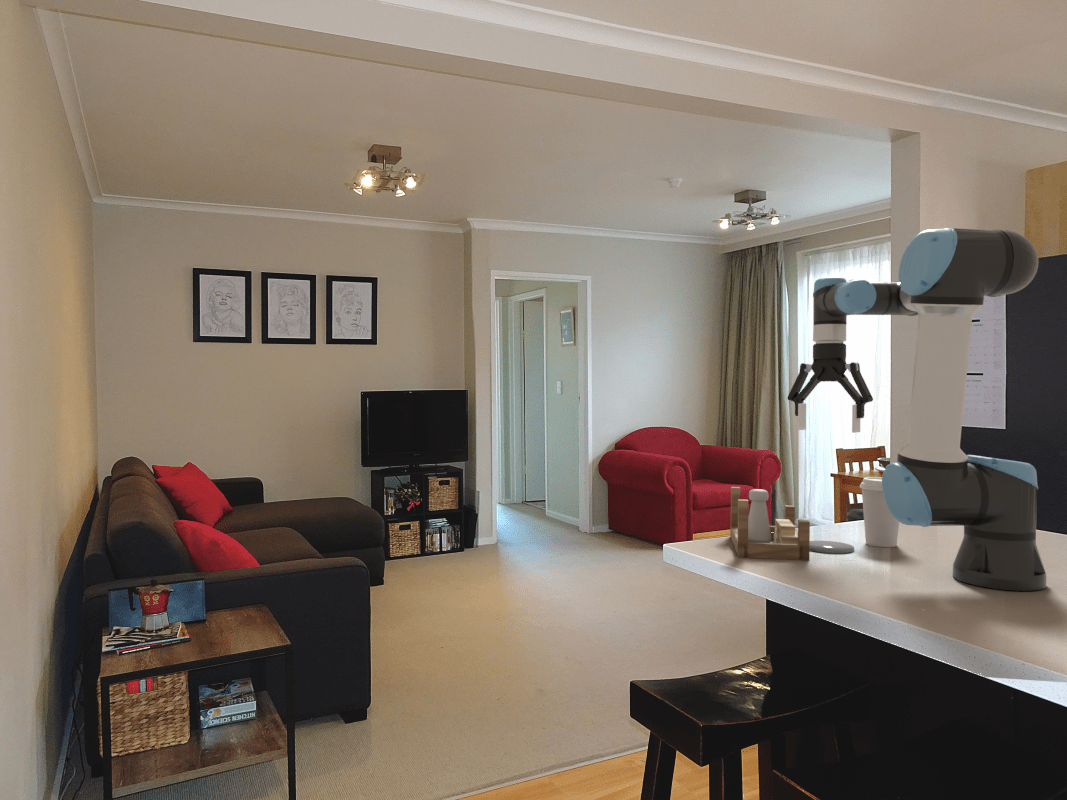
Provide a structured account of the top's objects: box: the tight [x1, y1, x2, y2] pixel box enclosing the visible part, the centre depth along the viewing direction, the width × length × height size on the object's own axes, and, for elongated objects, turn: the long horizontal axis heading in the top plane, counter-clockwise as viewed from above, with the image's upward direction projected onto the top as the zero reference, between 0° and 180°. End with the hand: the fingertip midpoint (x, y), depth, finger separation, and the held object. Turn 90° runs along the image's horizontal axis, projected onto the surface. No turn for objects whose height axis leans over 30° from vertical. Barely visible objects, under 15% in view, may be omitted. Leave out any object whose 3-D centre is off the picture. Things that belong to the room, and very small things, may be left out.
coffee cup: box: [859, 476, 900, 548], centre depth 180 cm, size 10×10×15 cm
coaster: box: [809, 540, 855, 554], centre depth 175 cm, size 11×11×1 cm
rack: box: [729, 486, 811, 561], centre depth 175 cm, size 22×14×12 cm, turn 170°
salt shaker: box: [748, 488, 772, 543], centre depth 176 cm, size 6×6×13 cm
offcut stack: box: [773, 518, 798, 544], centre depth 175 cm, size 14×3×6 cm, turn 170°
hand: (828, 431), depth 189 cm, fingers open, 13 cm apart
